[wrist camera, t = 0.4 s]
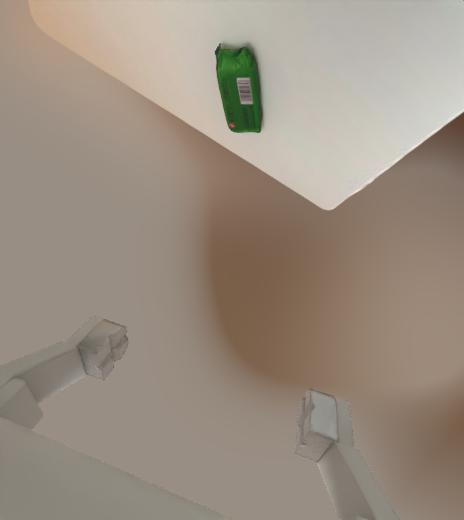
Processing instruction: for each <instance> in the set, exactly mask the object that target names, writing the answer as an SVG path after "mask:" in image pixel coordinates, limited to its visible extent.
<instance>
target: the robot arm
mask: <svg viewBox="0 0 464 520" xmlns="http://www.w3.org/2000/svg"><path fill="white" fill-rule="evenodd" d="M126 332H127V329H126V327H125V326H123V325H120V324H116V323H114V322H111V321H108V320H106V319H103V318H100V317H97V316H94V317H92V318H90V319H89V320H88V321H87V322H86V323H85V324H84V325H83V326H82V327H81V328H79V329H78V330H77V331H76V332H75V333H74V334H73V335H72V336H71V337H70V338H69V339H68V340H67V341H66V342H65V343H64V342H60V343H57V344H55V345H52V346H49V347H47V348H45V349H42V350H39V351H37V352H35V353H32V354H29V355H27V356H24V357H22V358H19V359H17V360H14V361H11V362H9V363H7V364H4V365H1V366H0V520H235V519H232V518H230V517H227V516H225V515H223V514H221V513H219V512H216V511H214V510H212V509H209V508H207V507H205V506H202V505H200V504H198V503H196V502H194V501H191V500H189V499H186V498H184V497H182V496H180V495H178V494H175V493H173V492H171V491H168V490H166V489H164V488H162V487H159V486H157V485H155V484H153V483H150V482H148V481H146V480H143V479H141V478H139V477H136V476H134V475H132V474H129V473H127V472H125V471H123V470H121V469H118V468H116V467H114V466H111V465H109V464H107V463H105V462H102V461H100V460H98V459H96V458H93V457H91V456H89V455H86V454H84V453H82V452H80V451H77V450H75V449H73V448H70V447H68V446H66V445H64V444H61V443H59V442H57V441H55V440H52V439H50V438H48V437H45V436H43V435H41V434H39V433H36V432H34V431H32V429H33V428H34V426H35V425H36V424H37V423H38V422H39V421H40V419H41V418H42V417H43V413H42V411H41V409H40V407H39V405H38V404H39V403H41V402H43V401H44V400H46V399H48V398H49V397H51V396H52V395H54V394H56V393H57V392H59V391H61V390H63V389H65V388H66V387H68V386H70V385H71V384H73V383H75V382H76V381H78V380H79V379H81V378H83V377H85V376H86V374H87V375H90V376H93V377H96V378H99V379H102V380H105V378H106V377H107V376H108V374H109V373H110V372H111V371H112V369H113V368H114V362H115V361H117V360H119V359H121V358H122V356H123V355H124V353H125V351H126V349H127V347H128V338H127V337H126V335H125V334H126ZM297 423H298V425H299V427H300V429H299V431H298V432H297V434H296V449H295V453H296V454H298V455H301V456H303V457H306V458H308V459H310V460H313V461H315V462H318V463H317V465H318V467H319V470H320V472H321V475H322V477H323V480H324V482H325V485H326V488H327V490H328V493H329V495H330V498H331V500H332V503H333V505H334V508H335V511H336V513H337V516H338V518H339V520H400V519H399V518H398V516H397V514H396V513H395V511H394V509H393V508H392V506H391V504H390V502H389V501H388V499H387V497H386V496H385V494H384V492H383V490H382V489H381V487H380V485H379V484H378V482H377V480H376V479H375V477H374V475H373V473H372V472H371V470H370V468H369V467H368V465H367V464H366V462H365V460H364V458H363V456H362V455H361V453H360V451H359V450H358V449H355V448H354V439H353V430H352V421H351V412H350V404H349V402H348V401H347V400H343V399H340V398H337V397H334V396H332V395H329V394H326V393H323V392H320V391H317V390H314V389H310V388H309V389H307V391H306V396H305V398H303V399H302V401H301V403H300V406H299V410H298V419H297Z"/></svg>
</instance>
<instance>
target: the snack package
mask: <svg viewBox="0 0 464 520" xmlns="http://www.w3.org/2000/svg"><path fill="white" fill-rule="evenodd" d="M220 45H221V44H219V46H218V47H217V49H216V50H215V55H216V58H217V66H216V70H217V79H218V85H219V90H220V94H221V98H222V103H223V108H224V112H225V116H226V120H227V124H228V127H229V128H230V130H231V131H233V132H237V133H243V132H256V133H260V132H261V121H262V112H261V104H260V89H259V81H258V74H257V66H256V62H255V60H254V58H253V56H252V55H251V53H250V51H249V50H248V49H247V48H245V47H243V48H241V49H239V50H236V51H231V50H224V49H222V48H221V47H220Z"/></svg>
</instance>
